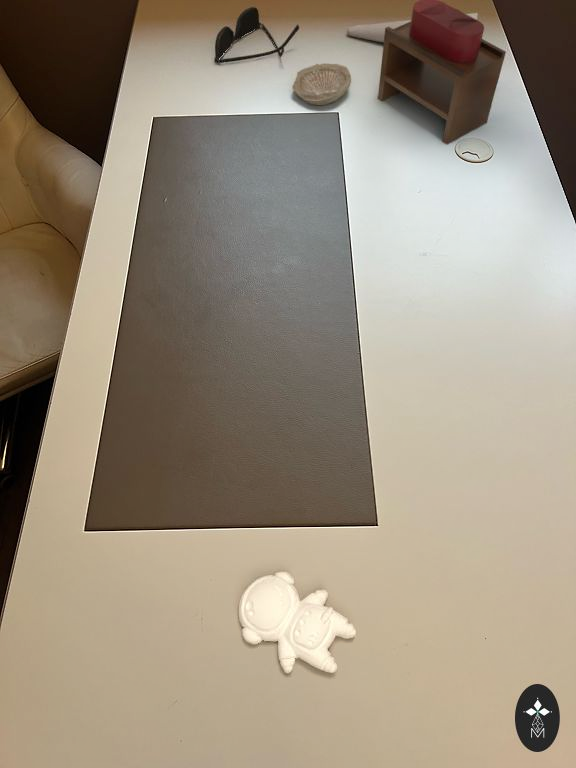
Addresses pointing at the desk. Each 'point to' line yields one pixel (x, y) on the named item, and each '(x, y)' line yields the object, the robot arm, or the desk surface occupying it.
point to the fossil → (322, 83)
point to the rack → (441, 80)
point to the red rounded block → (446, 30)
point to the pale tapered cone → (380, 29)
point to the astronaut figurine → (292, 621)
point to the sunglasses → (244, 25)
